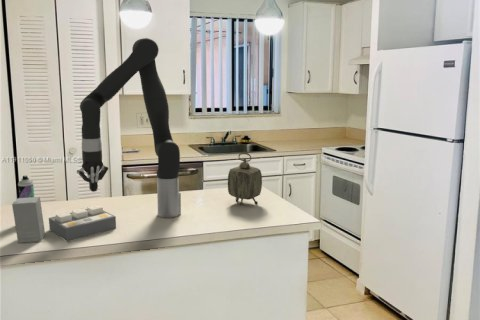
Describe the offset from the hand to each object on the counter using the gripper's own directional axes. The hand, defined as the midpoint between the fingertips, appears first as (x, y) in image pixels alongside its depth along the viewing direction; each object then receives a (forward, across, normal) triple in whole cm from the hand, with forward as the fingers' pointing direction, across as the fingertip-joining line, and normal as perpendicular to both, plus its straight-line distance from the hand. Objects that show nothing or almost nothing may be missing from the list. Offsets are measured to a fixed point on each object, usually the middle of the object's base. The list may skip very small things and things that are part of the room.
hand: (93, 191), depth 178 cm
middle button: (+10, -6, 0) cm, 12 cm away
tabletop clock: (+14, +64, -23) cm, 69 cm away
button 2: (+10, 0, 0) cm, 10 cm away
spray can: (+14, -19, +19) cm, 31 cm away
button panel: (+14, -6, -2) cm, 16 cm away
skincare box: (+14, -25, +1) cm, 29 cm away
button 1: (+10, -13, 0) cm, 16 cm away
